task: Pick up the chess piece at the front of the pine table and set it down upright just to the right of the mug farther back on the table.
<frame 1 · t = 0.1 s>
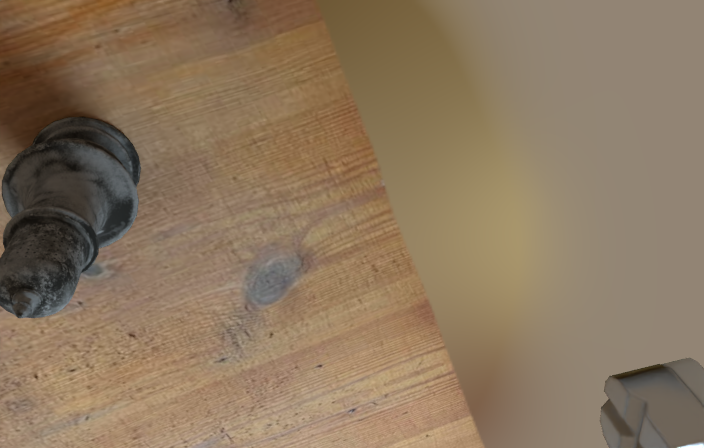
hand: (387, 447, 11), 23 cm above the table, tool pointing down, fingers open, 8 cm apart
chess piece: (87, 163, 31), on the table
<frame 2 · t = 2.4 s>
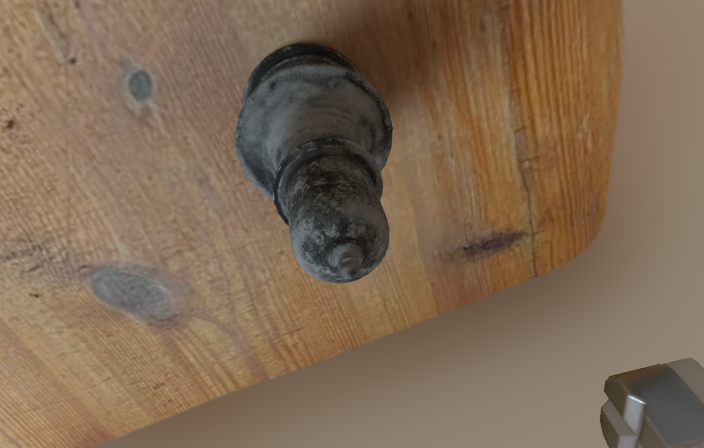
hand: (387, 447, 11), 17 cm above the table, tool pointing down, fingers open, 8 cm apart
chess piece: (305, 104, 25), on the table
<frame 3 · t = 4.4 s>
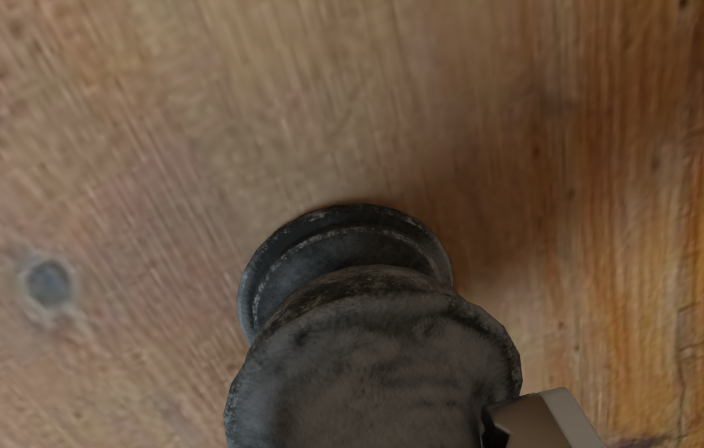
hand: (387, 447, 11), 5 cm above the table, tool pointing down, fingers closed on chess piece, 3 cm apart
chess piece: (345, 293, 15), on the table, touching gripper
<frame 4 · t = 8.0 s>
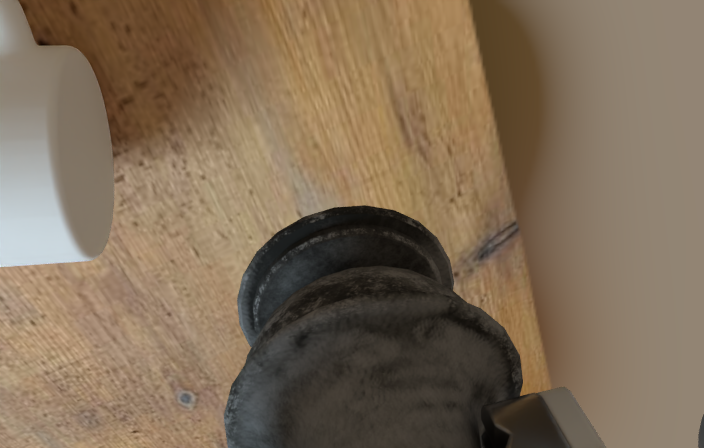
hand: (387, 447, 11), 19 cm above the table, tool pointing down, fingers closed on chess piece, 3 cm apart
chess piece: (346, 294, 15), point 15 cm above the table, touching gripper
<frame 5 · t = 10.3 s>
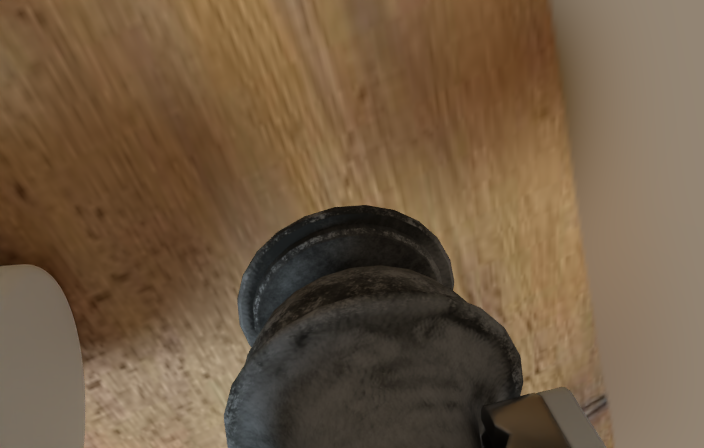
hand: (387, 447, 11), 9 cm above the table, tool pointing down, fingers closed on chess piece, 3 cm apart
chess piece: (346, 294, 15), point 4 cm above the table, touching gripper
when the fingers open (4 cm above the table, at t = 11.8 s): chess piece stays where it is, on the table.
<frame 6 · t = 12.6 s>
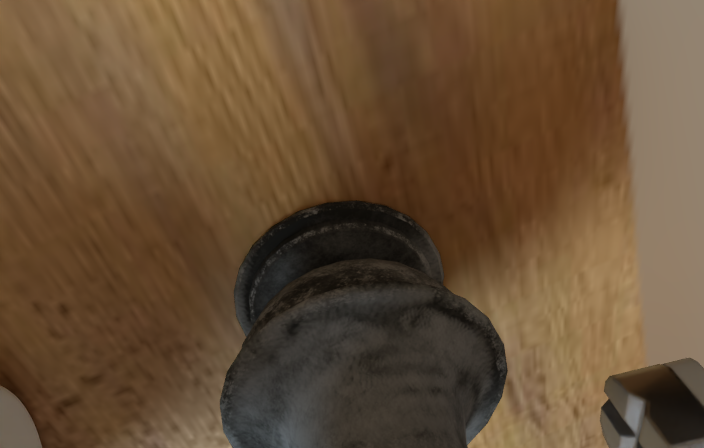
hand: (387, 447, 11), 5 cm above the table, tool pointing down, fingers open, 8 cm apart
chess piece: (339, 287, 15), on the table
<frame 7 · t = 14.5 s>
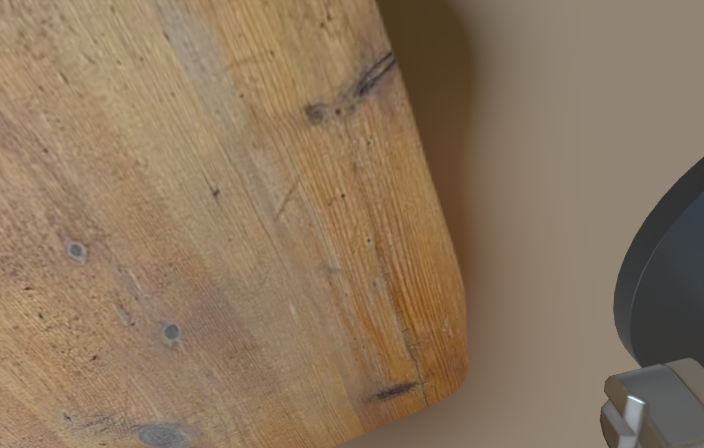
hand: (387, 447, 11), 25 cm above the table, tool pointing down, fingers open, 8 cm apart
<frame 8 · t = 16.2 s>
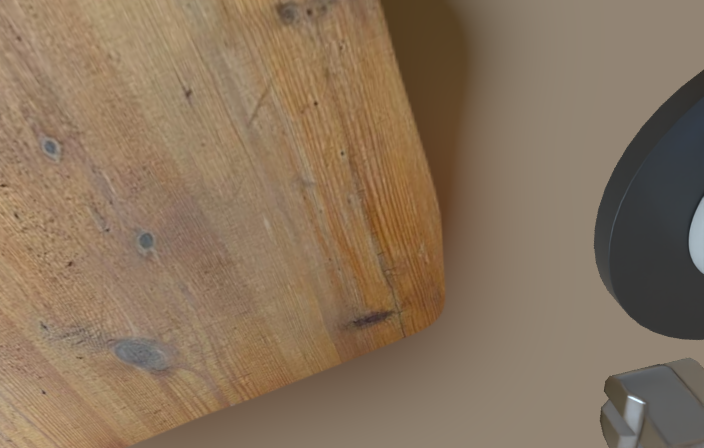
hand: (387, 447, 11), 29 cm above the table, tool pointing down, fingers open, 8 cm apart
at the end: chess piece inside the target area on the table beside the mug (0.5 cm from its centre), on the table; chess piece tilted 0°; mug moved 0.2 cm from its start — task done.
